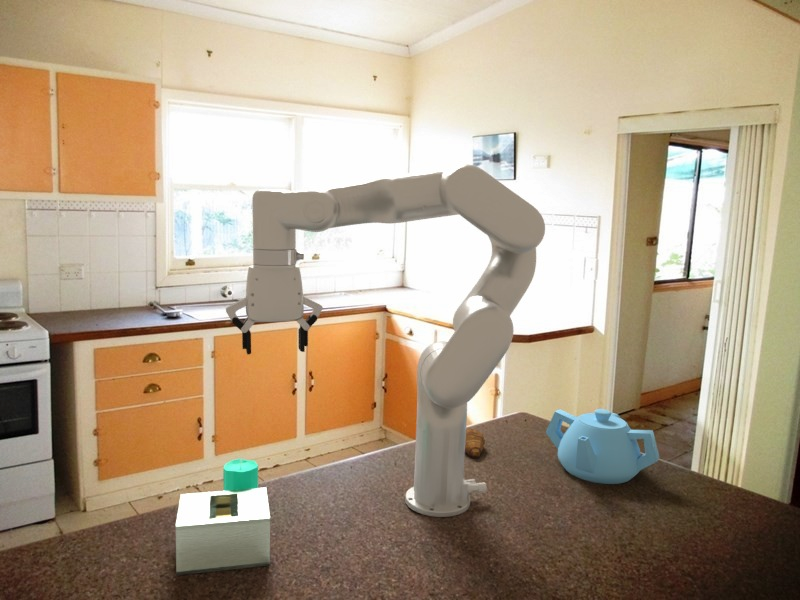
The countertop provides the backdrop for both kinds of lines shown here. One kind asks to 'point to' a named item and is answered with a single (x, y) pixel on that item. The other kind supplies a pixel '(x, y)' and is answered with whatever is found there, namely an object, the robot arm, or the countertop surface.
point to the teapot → (601, 446)
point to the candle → (240, 475)
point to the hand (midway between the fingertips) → (275, 351)
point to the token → (223, 512)
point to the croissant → (474, 443)
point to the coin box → (222, 531)
